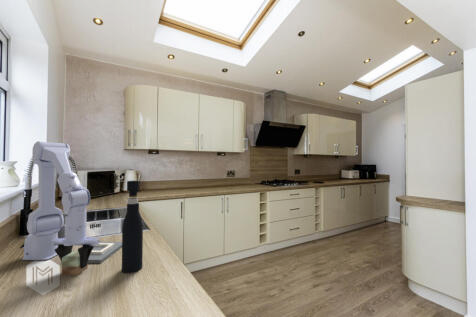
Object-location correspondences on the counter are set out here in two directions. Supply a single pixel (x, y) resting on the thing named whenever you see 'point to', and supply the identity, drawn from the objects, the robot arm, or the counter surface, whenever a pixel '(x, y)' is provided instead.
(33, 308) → the counter surface
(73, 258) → the block stack
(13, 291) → the counter surface
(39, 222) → the robot arm
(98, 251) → the pocket board
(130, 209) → the wine bottle
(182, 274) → the counter surface
